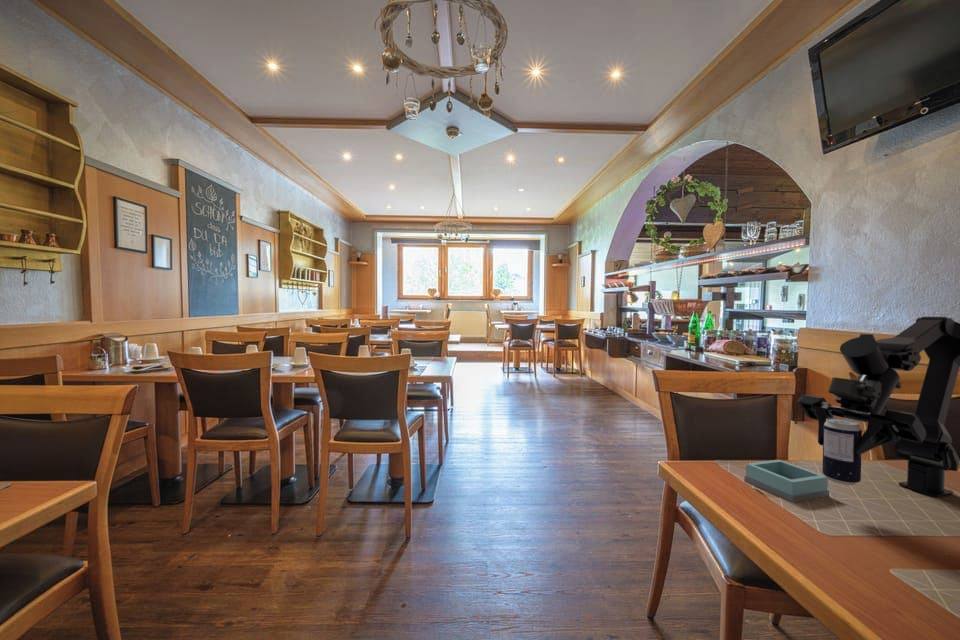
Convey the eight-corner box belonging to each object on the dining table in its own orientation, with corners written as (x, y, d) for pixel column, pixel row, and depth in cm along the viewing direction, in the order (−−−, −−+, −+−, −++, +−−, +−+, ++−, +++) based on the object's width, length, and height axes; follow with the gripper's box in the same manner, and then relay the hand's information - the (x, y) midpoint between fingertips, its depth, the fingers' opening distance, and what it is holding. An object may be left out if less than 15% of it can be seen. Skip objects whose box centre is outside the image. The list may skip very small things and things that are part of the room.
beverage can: (868, 488, 75) (869, 426, 75) (833, 485, 77) (835, 424, 76) (847, 476, 81) (849, 418, 81) (815, 473, 82) (817, 416, 82)
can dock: (778, 476, 97) (779, 459, 97) (829, 496, 86) (829, 477, 86) (744, 480, 94) (744, 463, 94) (792, 502, 83) (792, 482, 83)
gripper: (803, 358, 88) (769, 411, 85) (919, 370, 71) (882, 437, 67) (825, 391, 91) (793, 443, 88) (941, 409, 74) (907, 476, 70)
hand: (837, 448), depth 78 cm, fingers closed on beverage can, 6 cm apart
